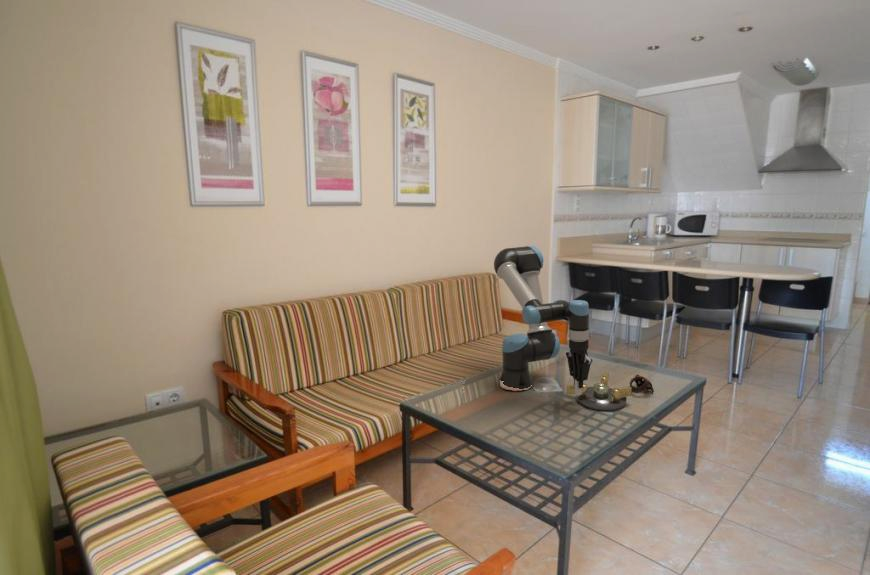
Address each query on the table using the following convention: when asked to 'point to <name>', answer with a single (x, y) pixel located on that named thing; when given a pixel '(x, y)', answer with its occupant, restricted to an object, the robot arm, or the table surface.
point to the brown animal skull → (641, 384)
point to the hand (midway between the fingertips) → (578, 394)
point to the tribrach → (600, 399)
